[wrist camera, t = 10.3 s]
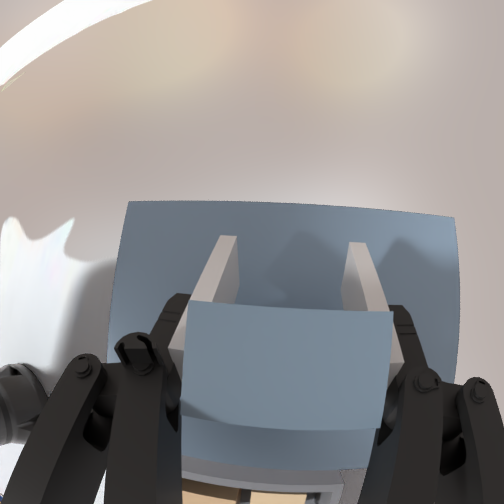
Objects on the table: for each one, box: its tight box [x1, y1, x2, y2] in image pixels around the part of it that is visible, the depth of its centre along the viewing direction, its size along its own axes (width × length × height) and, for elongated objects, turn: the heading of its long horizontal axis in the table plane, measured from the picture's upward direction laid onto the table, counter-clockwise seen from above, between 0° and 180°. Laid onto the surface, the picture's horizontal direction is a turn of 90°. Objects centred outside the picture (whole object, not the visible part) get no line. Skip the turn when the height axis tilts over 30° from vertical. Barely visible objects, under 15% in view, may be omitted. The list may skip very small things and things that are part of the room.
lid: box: [107, 201, 460, 470], centre depth 12 cm, size 22×16×12 cm
